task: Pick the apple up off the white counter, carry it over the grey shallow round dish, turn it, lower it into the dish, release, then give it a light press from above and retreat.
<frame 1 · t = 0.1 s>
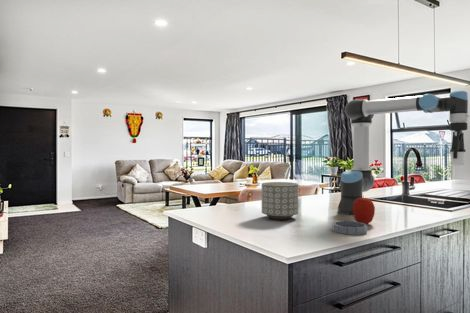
hand: (458, 165, 169), 28 cm above the worktop, fingers open, 13 cm apart
apple: (363, 224, 162), on the worktop
grey shallow round dish: (349, 230, 148), on the worktop
planter: (279, 218, 177), on the worktop
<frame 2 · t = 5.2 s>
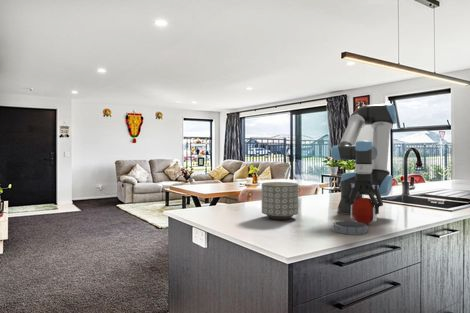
hand: (363, 219, 162), 2 cm above the worktop, fingers closed on apple, 10 cm apart
apple: (363, 224, 162), on the worktop, touching gripper
everything else where it was.
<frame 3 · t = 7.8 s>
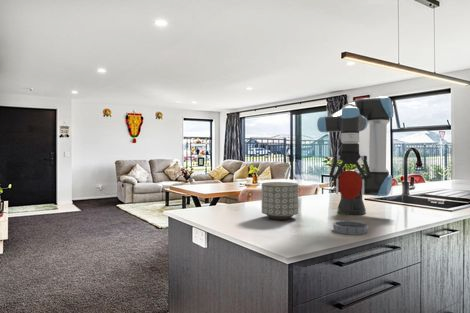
hand: (349, 194, 148), 16 cm above the worktop, fingers closed on apple, 10 cm apart
apple: (349, 199, 148), point 14 cm above the worktop, touching gripper
everything else where it was.
when the fingers open (4 cm above the worktop, at t = 10.8 s): apple stays where it is, resting on grey shallow round dish.
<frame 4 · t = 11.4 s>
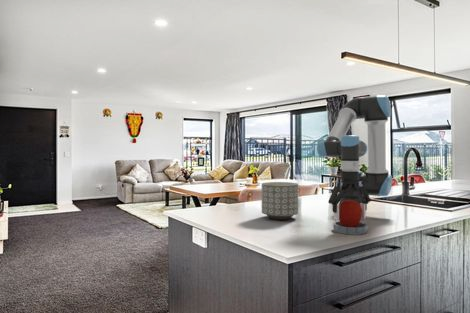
hand: (349, 219, 148), 5 cm above the worktop, fingers open, 13 cm apart
apple: (349, 229, 148), point 1 cm above the worktop, touching grey shallow round dish
everything else where it was.
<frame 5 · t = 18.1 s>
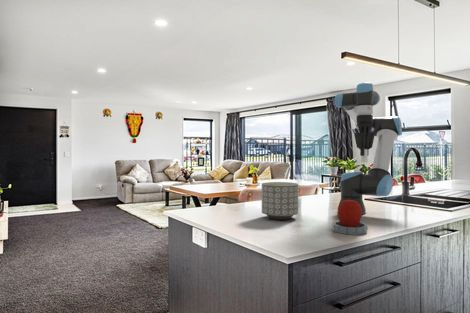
hand: (364, 162, 168), 29 cm above the worktop, fingers closed
nothing on the worktop moved.
at the end: apple inside the target area on the grey shallow round dish (0.0 cm from its centre), point 0.8 cm above the grey shallow round dish's base; the gripper is holding nothing; apple touching grey shallow round dish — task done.
